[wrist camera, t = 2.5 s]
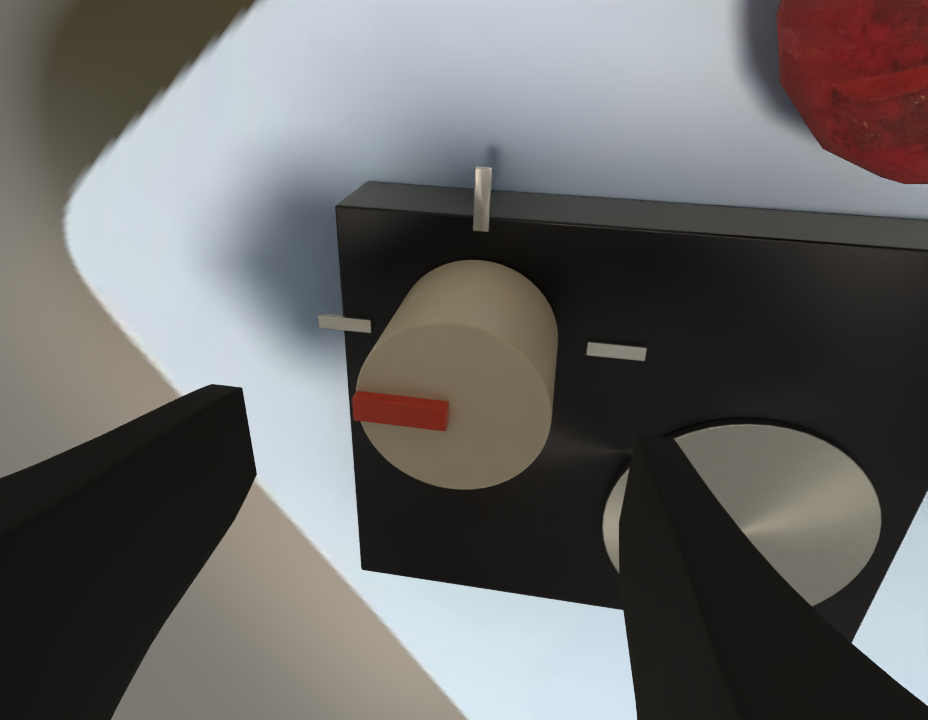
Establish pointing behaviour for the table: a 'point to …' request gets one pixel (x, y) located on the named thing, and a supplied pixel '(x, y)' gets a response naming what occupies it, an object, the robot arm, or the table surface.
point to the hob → (644, 364)
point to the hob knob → (462, 377)
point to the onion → (860, 80)
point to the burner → (779, 499)
